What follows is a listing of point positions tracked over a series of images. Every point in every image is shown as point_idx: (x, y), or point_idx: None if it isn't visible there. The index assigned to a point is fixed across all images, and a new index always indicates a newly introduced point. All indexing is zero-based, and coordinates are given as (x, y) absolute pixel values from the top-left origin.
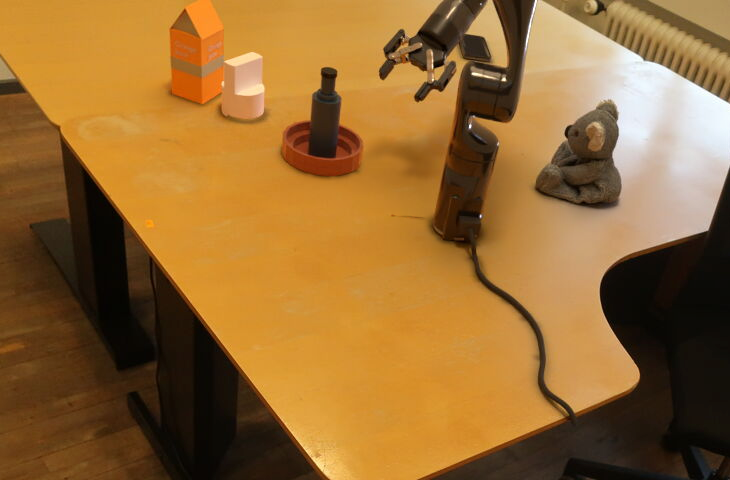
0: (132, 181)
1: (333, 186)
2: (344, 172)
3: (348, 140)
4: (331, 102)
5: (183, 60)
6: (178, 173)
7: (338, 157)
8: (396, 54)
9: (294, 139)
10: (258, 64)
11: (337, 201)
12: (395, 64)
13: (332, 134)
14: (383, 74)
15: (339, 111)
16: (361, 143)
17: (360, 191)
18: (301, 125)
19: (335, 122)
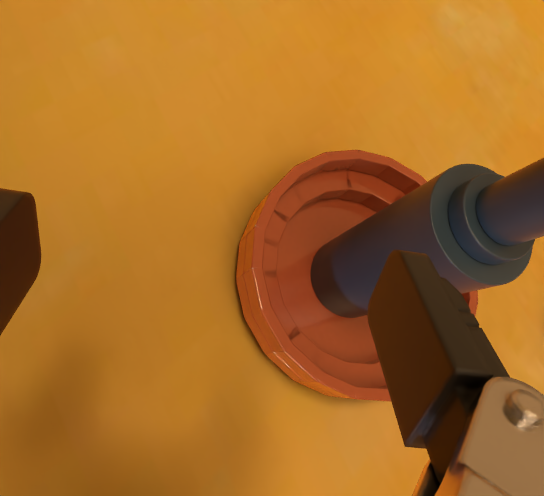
0: (508, 5)
1: (245, 169)
2: (250, 218)
3: (330, 369)
4: (446, 187)
5: None
6: (486, 57)
7: (309, 297)
8: (514, 458)
9: None
10: None
11: (201, 109)
12: (421, 473)
13: (357, 233)
14: (394, 270)
15: (402, 238)
16: (276, 327)
17: (173, 186)
18: None
19: (378, 228)
